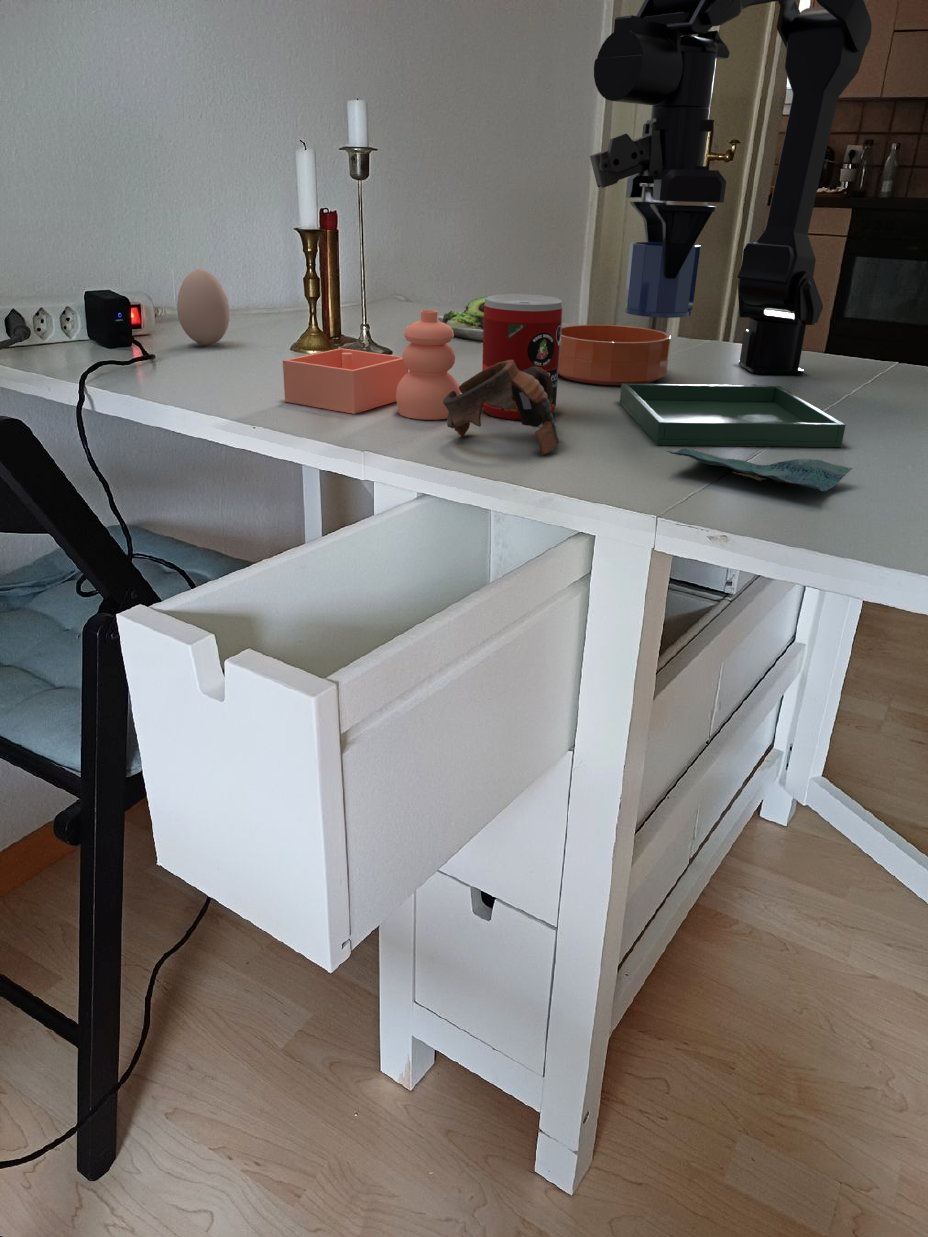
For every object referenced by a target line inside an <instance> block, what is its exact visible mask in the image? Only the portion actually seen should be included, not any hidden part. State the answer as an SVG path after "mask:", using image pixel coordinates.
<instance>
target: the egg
mask: <svg viewBox="0 0 928 1237" xmlns="http://www.w3.org/2000/svg"><path fill="white" fill-rule="evenodd" d="M176 300H177V301H176V303H177V304H176V310H177V318H178V321H179V324H180V326H181V328H182V330H183V331H184V333H185V334H186V336H188V337H189V338H190V339H191V340H192V341H194V342H195V343H196V344H198V345H201V346H212V345H215V344H216V343H218V342H220V340H221V339H223V337H224V336H225V334H226V333H227V331H228V328H229V325H230V322H231V309H230V303H229V298H228V296H227V293H226V291H225V290H224V288H223V286H222V284H221V282H220V281H219V279H218V278H217V277H216V276H215V275H214V274H213V273H211V272H209V271H207V270H205V269H200V268H198V269H194V270H192V271H191V272H189V273H188V274H187V275H186V276H185V277H184V279H183V281H182V283H181V285H180V287H179V291H178V295H177V299H176Z"/></svg>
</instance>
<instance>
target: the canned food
mask: <svg viewBox="0 0 928 1237" xmlns="http://www.w3.org/2000/svg"><path fill="white" fill-rule="evenodd" d="M487 296H488V297H486V296H485V297H486V298H485V304H484V324H483V341H482V359H481V360H482V361H481V362H482V364H481V365H482V366H481V371H483V370H485V369H487V368H489V367H490V366H493V365H495V364H497V363H499V362H503V361H507V360H514V362H515V365H516V367H517V368H518V370H519V371H524V370H526V369H528V368H530V367H534V366H535V367H540V368H542V369H543V370H545V371H546V372H547V373H548V375H549V376H550V378H551V380H552V384H553V396H552V401H551V404H550V406H551V413H552V415H553V414H554V412H555V409H556V406H557V395H558V382H559V381H558V380H559V374H558V368H559V354H560V340H561V327H563V326H562V324H563V300H562V299H561V298H557V297H554V296H549V295H548V296H547V295H538V294H521V293H519V294H517V293H509V294H507V293H506V294H493V295H487ZM512 399H513V400H514V398H513V397H512ZM514 403H515V401H514ZM515 405H516V403H515ZM516 406H517V405H516ZM482 411H483V412H484V413H485V414H487V415H489V416H491V417H495V418H498V419H505V420H517V421H521V417H520V413H519V411H518V408H517V407H516V408H514V409H510V410H507V409H503V408H495V407H491V406H490V405H488V404H487V403H485V402H484V404H483V409H482Z"/></svg>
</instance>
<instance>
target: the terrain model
mask: <svg viewBox="0 0 928 1237" xmlns="http://www.w3.org/2000/svg"><path fill="white" fill-rule="evenodd" d="M666 452H667V453H670V454H671V455H676V456H683V457H689V458H691V459H694V460H696V461H698V462H700V463H702V464H704V465H709V466H714V467H715V466H717V467H726V468H729V469H731V473H733V474H736V475H739V476H743V477H745V478H747V477H749V478H751V479H755V480H756V481H760V482H761V481H762V480H765V481H766V480H767V479H768V478H769V479H772V480H773V481H775V482H780V483H787V484H792V485H798V486H801V487H806V488H810V489H815V490H818V491H821V492H827V491H829V490H830V489H832V488H833V487H835V486H836V485H837V484H838V483H839V482H840V481H841V480H843V478H844V477H846V475H848V473H850V472H851V471H852V470H853V469H854V468H853V467H848V466H844V465H838V464H835V463H830V462H827V461H825V460H822V459H815V458H799V459H790V460H784V461H779V462H775V463H774V462H773V463H772V464H764V465H759V464H755V463H752V462H749V461H745V460H740V459H734V458H720V457H718V456H713V455H711V454H709V453H705V452H702V451H698V450H695V449H694V448H690V447H689V448H688V447H685V448H680V449H678V450H676V451H670V450H666Z"/></svg>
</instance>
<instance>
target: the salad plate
mask: <svg viewBox="0 0 928 1237" xmlns="http://www.w3.org/2000/svg"><path fill="white" fill-rule="evenodd" d="M488 296H489V295H487V296H486V295H485V296H481V297H479V298H478V297H477V298H474V299H473V300H470V301H469V302H468V303H467V304H466V305H465V306H464V307H465V309H464V311H461V312H460V311H456V312H455V310H450V311H449V312H447V313H444V314H443V315H437V321H439V322H442V323H445V324H447V325H448V326H450V327H451V328H452V329H453V333H454V337H455V338H462V339H467V340H468V339H469V340H474V341H480V342H481V341H482V342H483V324H484V304H485V298H486V297H488Z"/></svg>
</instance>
